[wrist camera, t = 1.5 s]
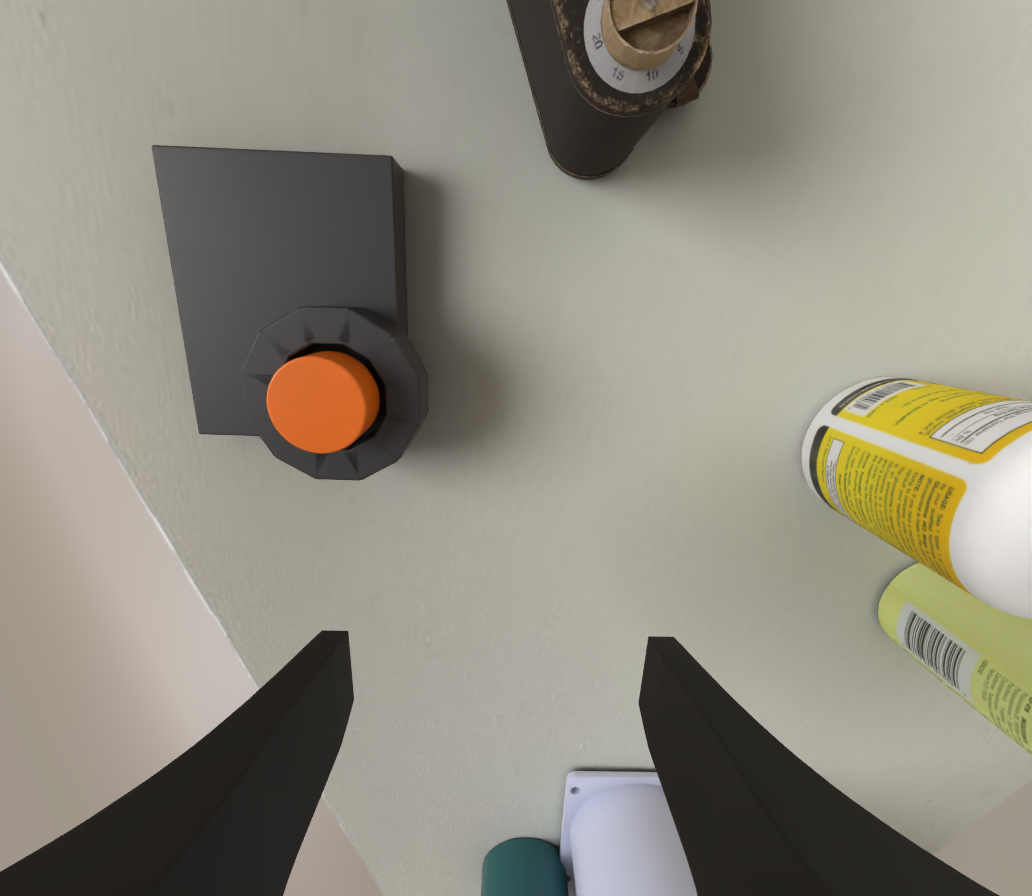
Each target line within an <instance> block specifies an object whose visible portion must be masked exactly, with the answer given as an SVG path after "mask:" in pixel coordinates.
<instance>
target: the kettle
mask: <svg viewBox="0 0 1032 896" xmlns="http://www.w3.org/2000/svg"><path fill="white" fill-rule="evenodd" d="M559 853H560V851H559V850H558V849H557V848H555V847H554V846H553V845H551V844H549V843H547V842H545V841H542V840H538V839H532V838H518V839H512V840H508V841H505V842H503V843H501V844H499V845H497V846H496V847H494V848H493V849H492V850H491V851H490V852H489V853H488V854H487V856H486V858H485V860H484V862H483V868H482V888H481V896H569V893H568V882H567V874H566V870H565V868H564V866H563V864H562V863H561V862H560V856H559Z"/></svg>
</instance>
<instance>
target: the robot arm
mask: <svg viewBox="0 0 1032 896" xmlns="http://www.w3.org/2000/svg"><path fill="white" fill-rule="evenodd" d="M353 701H354V693H353V682H352V670H351V659H350V647H349V636H348V631H321V632H320V633H319V634H318V635H317V636H316V637H315V638H314V639H313V640H311V641H310V642H309V643H308V644H307V645H306V646H305V647H304V648H303V649H302V650H301V651H300V652H299V653H298V654H297V655H296V656H295V657H294V658H293V659H292V660H291V661H289V662H288V663H287V664H286V665H285V666H284V667H283V668H282V669H281V670H280V671H279V672H278V673H277V674H276V675H275V676H274V677H273V678H271V679H270V680H269V681H268V682H267V683H266V684H265V685H264V686H263V687H262V688H261V689H259V690H258V691H257V692H256V693H255V694H254V695H253V696H252V697H251V698H250V699H249V700H247V701H246V702H245V703H244V704H243V705H242V706H241V707H239V708H238V709H237V710H236V711H235V712H233V713H232V714H231V715H230V716H229V717H228V718H226V719H225V720H224V721H223V722H222V723H220V724H219V725H218V726H217V727H216V728H215V729H213V730H212V731H211V732H210V733H209V734H207V735H206V736H205V737H204V738H203V739H201V740H200V741H199V742H197V743H196V744H195V745H194V746H192V747H191V748H190V749H188V750H187V751H186V752H185V753H183V754H182V755H180V756H179V757H178V758H176V759H175V760H174V761H172V762H171V763H170V764H168V765H167V766H166V767H164V768H163V769H162V770H160V771H159V772H157V773H156V774H155V775H153V776H152V777H150V778H149V779H148V780H146V781H145V782H143V783H142V784H140V785H139V786H137V787H136V788H135V789H133V790H131V791H130V792H128V793H127V794H125V795H124V796H123V797H121V798H119V799H118V800H117V801H115V802H113V803H112V804H110V805H109V806H107V807H106V808H104V809H103V810H102V811H100V812H98V813H97V814H95V815H94V816H92V817H91V818H89V819H88V820H86V821H85V822H83V823H81V824H80V825H78V826H77V827H75V828H73V829H72V830H70V831H69V832H67V833H66V834H64V835H62V836H60V837H59V838H57V839H55V840H54V841H52V842H51V843H49V844H47V845H45V846H44V847H42V848H40V849H39V850H37V851H35V852H34V853H32V854H30V855H28V856H27V857H25V858H24V859H22V860H20V861H18V862H17V863H15V864H13V865H12V866H10V867H8V868H6V869H4V870H3V871H1V872H0V896H283V894H284V891H285V887H286V884H287V881H288V879H289V876H290V873H291V870H292V867H293V865H294V862H295V860H296V857H297V854H298V852H299V849H300V847H301V844H302V842H303V839H304V837H305V834H306V832H307V829H308V827H309V824H310V821H311V819H312V817H313V814H314V812H315V810H316V807H317V805H318V802H319V799H320V797H321V795H322V792H323V790H324V787H325V785H326V782H327V780H328V777H329V775H330V772H331V770H332V767H333V765H334V762H335V760H336V757H337V755H338V752H339V749H340V747H341V744H342V741H343V737H344V734H345V730H346V727H347V723H348V720H349V716H350V712H351V708H352V705H353ZM639 707H640V712H641V717H642V721H643V726H644V730H645V735H646V739H647V743H648V747H649V751H650V754H651V757H652V760H653V763H654V765H655V768H656V771H657V772H617V771H572V772H570V773H569V774H568V775H567V777H566V785H565V796H564V808H563V819H562V830H561V841H560V853H559V856H560V862H561V863H562V864H563V866H564V868H565V870H566V874H567V882H568V893H569V896H999V895H997V894H995V893H993V892H992V891H990V890H988V889H987V888H985V887H983V886H981V885H979V884H978V883H976V882H975V881H973V880H971V879H970V878H968V877H966V876H965V875H963V874H961V873H960V872H958V871H957V870H955V869H954V868H952V867H950V866H949V865H947V864H946V863H944V862H943V861H941V860H939V859H938V858H936V857H935V856H933V855H932V854H930V853H928V852H927V851H925V850H924V849H922V848H921V847H919V846H918V845H916V844H915V843H913V842H912V841H910V840H909V839H907V838H906V837H904V836H903V835H901V834H900V833H898V832H897V831H895V830H894V829H892V828H891V827H889V826H888V825H887V824H885V823H884V822H882V821H881V820H880V819H878V818H877V817H875V816H874V815H872V814H871V813H870V812H868V811H867V810H865V809H864V808H863V807H861V806H860V805H858V804H857V803H856V802H854V801H853V800H852V799H850V798H849V797H848V796H846V795H845V794H844V793H842V792H841V791H840V790H838V789H837V788H836V787H834V786H833V785H832V784H830V783H829V782H828V781H827V780H825V779H824V778H823V777H822V776H820V775H819V774H818V773H817V772H815V771H814V770H813V769H812V768H810V767H809V766H808V765H807V764H805V763H804V762H803V761H802V760H800V759H799V758H798V757H797V756H796V755H794V754H793V753H792V752H791V751H790V750H789V749H787V748H786V747H785V746H784V745H783V744H782V743H780V742H779V741H778V740H777V739H776V738H775V737H774V736H773V735H772V734H770V733H769V732H768V731H767V730H766V729H765V728H764V727H763V726H762V725H760V724H759V723H758V722H757V721H756V720H755V719H754V718H753V717H752V716H751V715H750V714H749V713H748V712H747V711H746V710H744V709H743V708H742V707H741V706H740V705H739V704H738V703H737V702H736V701H735V700H734V699H733V698H732V697H731V696H730V695H729V694H728V693H727V692H726V691H725V690H724V689H723V688H722V687H721V686H720V685H719V684H718V683H717V682H716V681H715V680H714V679H713V678H712V677H711V676H710V674H709V673H708V672H707V671H706V670H705V669H704V668H703V667H702V666H701V665H700V664H699V663H698V662H697V661H696V660H695V659H694V658H693V657H692V656H691V655H690V653H689V652H688V651H687V650H686V649H685V648H684V647H683V646H682V645H681V644H680V643H679V642H678V641H677V640H676V639H675V638H674V637H650V636H649V637H648V644H647V650H646V657H645V664H644V670H643V677H642V684H641V690H640V697H639Z"/></svg>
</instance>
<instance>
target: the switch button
mask: <svg viewBox="0 0 1032 896" xmlns="http://www.w3.org/2000/svg"><path fill="white" fill-rule="evenodd" d="M379 406H380V394H379V389H378V386H377V383H376V381H375V379H374V377H373V375H372V374H371V372H370V371H369V370H368V369H367V368H366V367H365V366H364V365H363V364H362V363H361V362H360V361H358V360H357V359H355V358H354V357H352V356H350V355H347V354H345V353H341V352H336V351H323V352H318V353H314V354H310V355H306V356H302V357H299V358H296V359H293V360H291V361H289V362H287V363H285V364H284V365H282V366H281V367H280V368H279V369H278V370H277V371H276V373H275V374H274V375H273V377H272V379H271V381H270V384H269V386H268V391H267V408H268V413H269V416H270V419H271V421H272V423H273V425H274V426H275V428H276V429H277V431H278V432H279V433H280V434H281V435H282V436H283V437H284V438H285V439H286V440H287V441H288V442H290V443H291V444H293V445H294V446H296V447H298V448H300V449H302V450H305V451H308V452H313V453H321V454H323V453H333V452H337V451H340V450H342V449H344V448H346V447H348V446H349V445H351V444H352V443H353V442H354V441H355V440H357V439H358V438H359V437H360V436H361V435H362V434H363V433H364V432H365V431H367V430H368V429H369V428H370V426H371V425H372V424H373V422H374V421H375V419H376V417H377V415H378V411H379Z"/></svg>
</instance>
